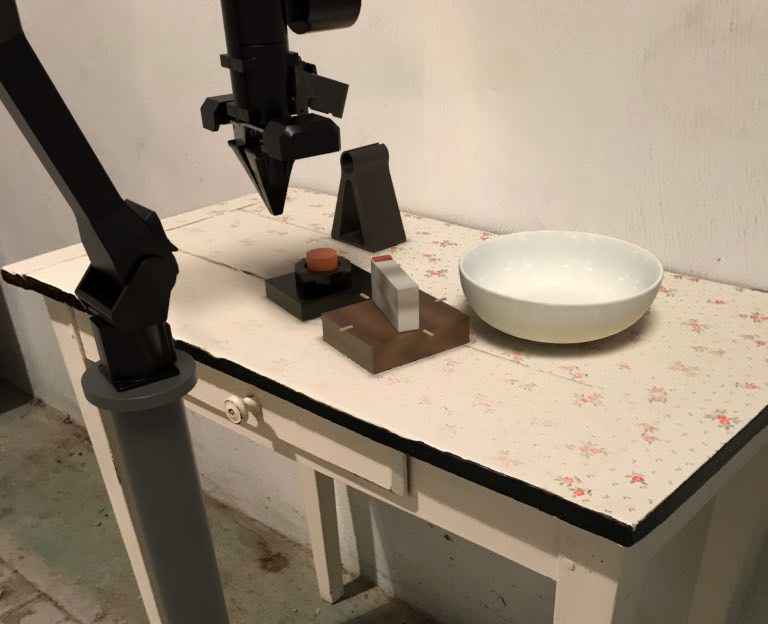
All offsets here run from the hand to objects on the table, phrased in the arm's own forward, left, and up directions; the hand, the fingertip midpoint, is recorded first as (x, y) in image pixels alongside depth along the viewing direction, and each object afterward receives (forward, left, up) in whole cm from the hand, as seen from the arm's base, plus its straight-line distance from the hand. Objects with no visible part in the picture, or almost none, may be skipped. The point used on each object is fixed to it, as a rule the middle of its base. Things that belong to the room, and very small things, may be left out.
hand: (276, 214), depth 84 cm
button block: (+7, +4, -12) cm, 14 cm away
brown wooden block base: (+7, -11, -12) cm, 18 cm away
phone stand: (+22, +18, -12) cm, 31 cm away
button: (+7, +4, -8) cm, 12 cm away
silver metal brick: (+7, -11, -9) cm, 16 cm away
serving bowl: (+23, -18, -12) cm, 32 cm away
